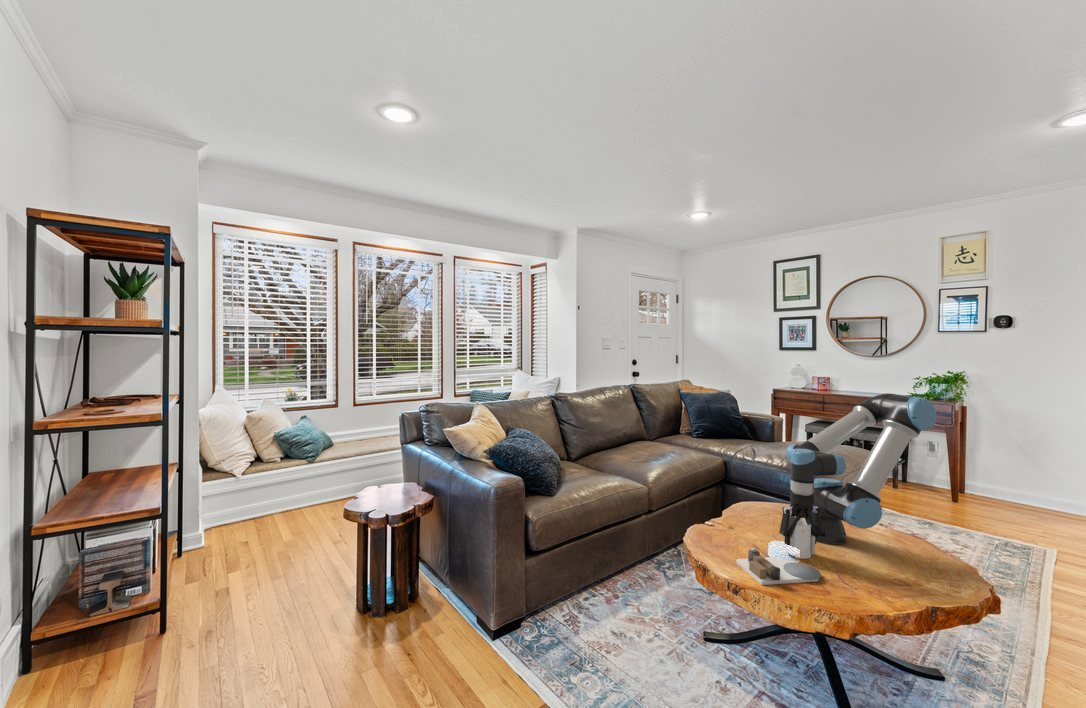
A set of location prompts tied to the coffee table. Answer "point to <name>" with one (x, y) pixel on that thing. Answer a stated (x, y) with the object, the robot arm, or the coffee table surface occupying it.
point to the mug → (802, 538)
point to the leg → (765, 564)
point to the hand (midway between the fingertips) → (800, 553)
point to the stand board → (788, 571)
